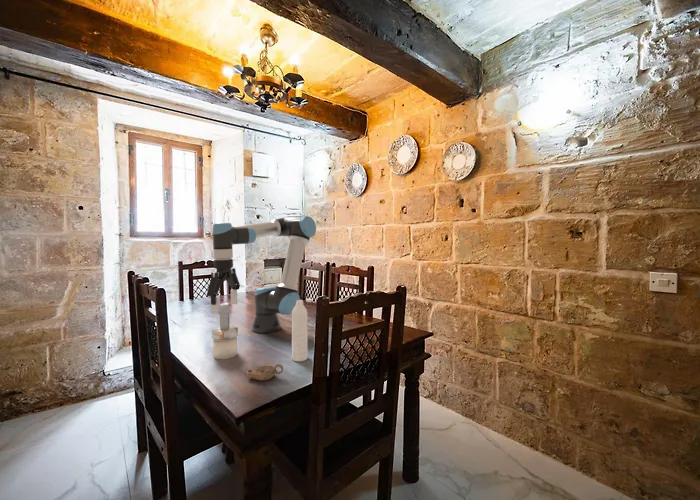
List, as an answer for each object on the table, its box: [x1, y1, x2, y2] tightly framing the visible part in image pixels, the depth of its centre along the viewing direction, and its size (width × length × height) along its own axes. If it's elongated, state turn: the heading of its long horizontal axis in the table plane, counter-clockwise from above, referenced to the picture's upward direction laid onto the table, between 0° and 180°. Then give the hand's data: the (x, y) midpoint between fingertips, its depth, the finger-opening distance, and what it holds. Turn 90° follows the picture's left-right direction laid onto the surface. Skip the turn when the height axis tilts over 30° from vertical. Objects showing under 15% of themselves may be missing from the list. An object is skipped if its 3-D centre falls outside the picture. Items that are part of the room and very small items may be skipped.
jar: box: [212, 336, 238, 360], centre depth 133 cm, size 10×10×8 cm
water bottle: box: [291, 298, 313, 363], centre depth 129 cm, size 9×6×25 cm
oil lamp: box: [246, 363, 284, 381], centre depth 113 cm, size 13×8×5 cm, turn 90°
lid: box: [211, 302, 239, 340], centre depth 132 cm, size 12×10×14 cm
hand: (225, 307), depth 133 cm, fingers open, 13 cm apart
